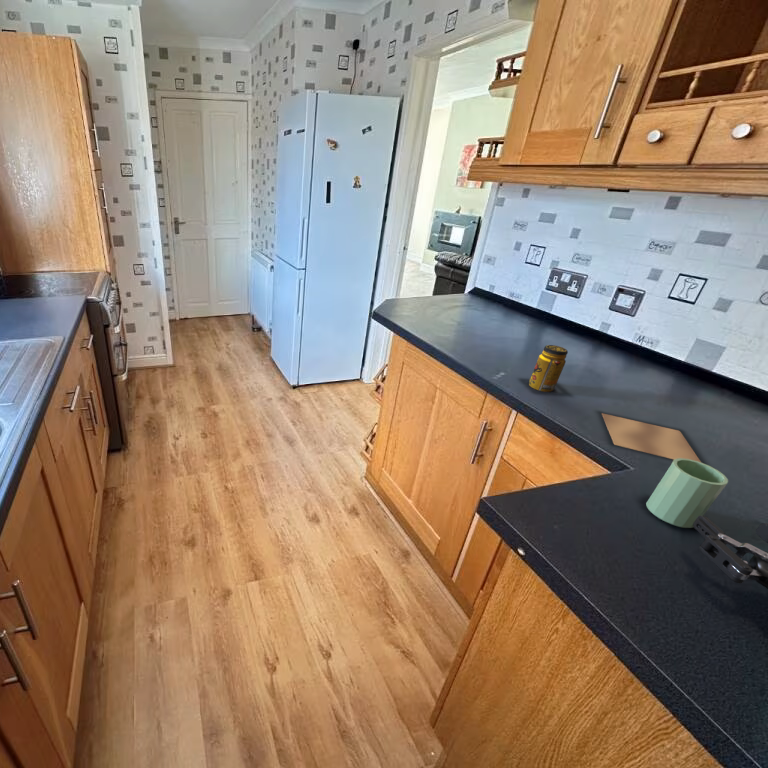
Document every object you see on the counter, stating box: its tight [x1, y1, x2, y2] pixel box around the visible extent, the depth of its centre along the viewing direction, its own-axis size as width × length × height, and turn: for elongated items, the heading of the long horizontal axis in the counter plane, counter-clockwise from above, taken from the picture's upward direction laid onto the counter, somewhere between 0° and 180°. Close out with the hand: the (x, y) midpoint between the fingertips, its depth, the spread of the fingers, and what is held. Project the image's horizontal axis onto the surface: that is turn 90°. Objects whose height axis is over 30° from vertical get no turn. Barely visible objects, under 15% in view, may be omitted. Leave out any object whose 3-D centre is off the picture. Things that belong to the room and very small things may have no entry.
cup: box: [645, 458, 729, 529], centre depth 70 cm, size 7×7×10 cm
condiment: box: [528, 344, 568, 393], centre depth 111 cm, size 7×8×12 cm
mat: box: [601, 412, 702, 463], centre depth 93 cm, size 15×15×1 cm
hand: (729, 523), depth 62 cm, fingers open, 8 cm apart
